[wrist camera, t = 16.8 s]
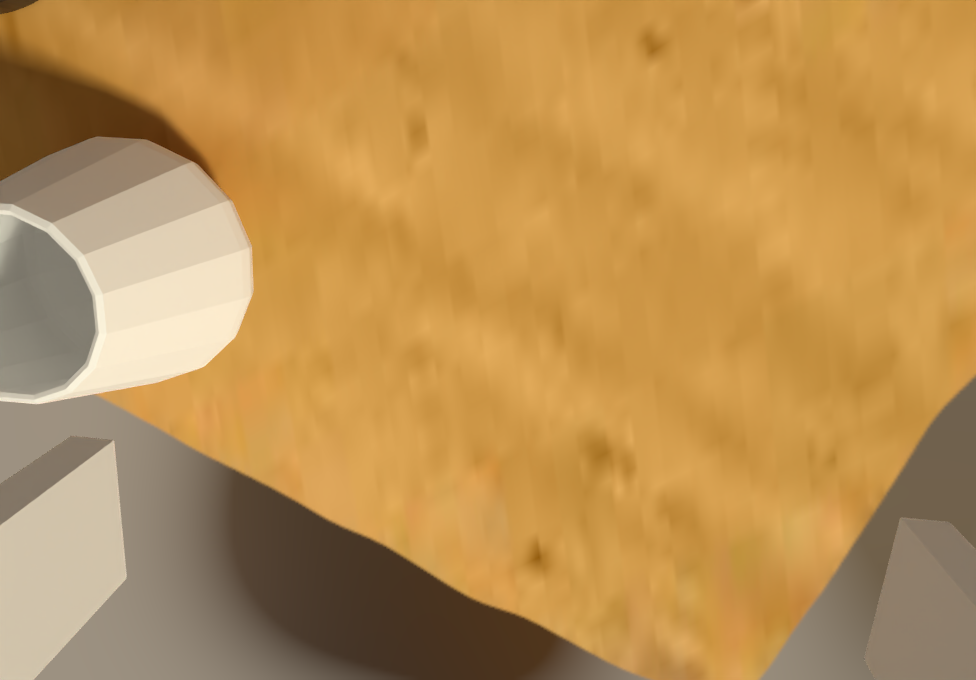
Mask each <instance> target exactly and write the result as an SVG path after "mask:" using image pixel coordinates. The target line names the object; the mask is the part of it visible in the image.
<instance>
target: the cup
mask: <svg viewBox="0 0 976 680" xmlns="http://www.w3.org/2000/svg"><path fill="white" fill-rule="evenodd" d="M252 294H253V268H252V245H251V243H250V241H249V239H248V236H247V234H246V232H245V229H244V227H243V225H242V222H241V220H240V218H239V215H238V213H237V211H236V208H235V206H234V204H233V201H232V200H231V199H230V198H229V197H228V196H227V195H226V194H225V193H224V192H223V190H222V189H221V188H220V187H219V186H218V185H217V184H216V183H215V182H214V181H213V180H212V179H211V178H210V177H209V176H208V175H207V174H206V172H205V171H204V170H203V169H202V168H201V167H200V166H199V165H198V164H196V163H194V162H192V161H190V160H188V159H186V158H184V157H182V156H180V155H178V154H176V153H174V152H172V151H170V150H168V149H166V148H164V147H162V146H160V145H158V144H156V143H153V142H151V141H148V140H146V139H131V138H114V137H94V138H90V139H87V140H85V141H83V142H80V143H78V144H75V145H73V146H70V147H68V148H65V149H63V150H60V151H58V152H55V153H53V154H50V155H48V156H46V157H44V158H42V159H40V160H38V161H37V162H35V163H33V164H31V165H29V166H27V167H26V168H24V169H22V170H20V171H18V172H16V173H15V174H13V175H11V176H9V177H7V178H5V179H3V180H2V181H0V401H9V402H20V403H31V404H41V403H47V402H52V401H58V400H63V399H69V398H74V397H80V396H85V395H91V394H97V393H102V392H108V391H113V390H119V389H125V388H130V387H136V386H141V385H147V384H152V383H157V382H160V381H163V380H166V379H169V378H172V377H175V376H178V375H181V374H184V373H187V372H190V371H193V370H196V369H199V368H202V367H204V366H205V365H206V364H207V363H208V362H210V361H211V360H212V359H213V358H214V357H215V356H216V355H217V354H218V353H219V352H220V351H221V350H222V349H223V348H224V347H225V346H226V345H227V344H228V343H230V342H231V341H232V340H233V339H234V338H235V336H236V334H237V333H238V330H239V328H240V325H241V323H242V320H243V318H244V315H245V312H246V310H247V307H248V305H249V302H250V299H251V297H252Z"/></svg>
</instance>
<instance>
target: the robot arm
mask: <svg viewBox="0 0 976 680" xmlns="http://www.w3.org/2000/svg"><path fill="white" fill-rule="evenodd" d="M36 1H38V0H0V14H2V13H8V12H12V11H15V10H18V9H21V8H24V7H26V6H28V5H30V4H32V3H34V2H36ZM126 578H127V576H126V565H125V554H124V543H123V533H122V521H121V511H120V501H119V489H118V478H117V468H116V457H115V446H114V440H107V439H97V438H87V437H75V436H71V437H69V438H68V439H66V440H65V441H63V442H62V443H60V444H59V445H57V446H56V447H54V448H53V449H51V450H50V451H49V452H47V453H45V454H44V455H42V456H41V457H39V458H38V459H36V460H35V461H33V462H32V463H31V464H29V465H27V466H26V467H25V468H23V469H22V470H20V471H19V472H17V473H16V474H14V475H13V476H11V477H10V478H8V479H7V480H5V481H4V482H2V483H1V484H0V680H34V679H35V677H36V676H37V675H38V674H39V673H40V672H41V671H42V670H43V669H44V668H45V667H46V665H47V664H48V663H49V662H50V661H51V660H52V659H53V658H54V657H55V656H56V655H57V653H58V652H59V651H60V650H61V649H62V648H63V647H64V646H65V645H66V644H67V643H68V642H69V640H70V639H71V638H72V637H73V636H74V635H75V634H76V633H77V632H78V631H79V630H80V628H81V627H82V626H83V625H84V624H85V623H86V622H87V621H88V620H89V619H90V618H91V616H92V615H93V614H94V613H95V612H96V611H97V610H98V609H99V608H100V606H101V605H102V604H103V603H104V602H105V601H106V600H107V599H108V598H109V597H110V596H111V595H112V594H113V592H114V591H115V590H116V589H117V588H118V587H119V586H120V585H121V584H122V583H123V581H124V580H125V579H126ZM864 660H865V662H866V664H867V665H868V667H869V669H870V671H871V672H872V674H873V676H874V678H875V680H976V549H975V548H974V547H973V546H972V545H971V544H970V543H969V542H968V541H967V540H966V539H965V538H964V537H963V536H962V535H961V534H960V533H959V531H957V529H956V528H955V527H954V526H953V525H952V524H951V523H950V522H942V521H932V520H922V519H912V518H900V521H899V525H898V529H897V533H896V537H895V541H894V545H893V548H892V552H891V556H890V560H889V564H888V568H887V572H886V576H885V580H884V584H883V587H882V592H881V596H880V599H879V603H878V607H877V611H876V615H875V619H874V623H873V627H872V631H871V635H870V638H869V642H868V646H867V650H866V655H865V658H864Z"/></svg>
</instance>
